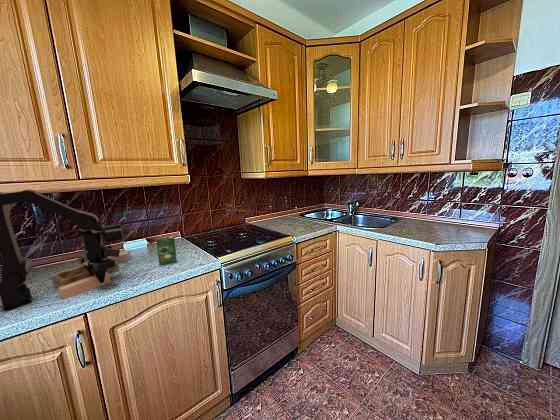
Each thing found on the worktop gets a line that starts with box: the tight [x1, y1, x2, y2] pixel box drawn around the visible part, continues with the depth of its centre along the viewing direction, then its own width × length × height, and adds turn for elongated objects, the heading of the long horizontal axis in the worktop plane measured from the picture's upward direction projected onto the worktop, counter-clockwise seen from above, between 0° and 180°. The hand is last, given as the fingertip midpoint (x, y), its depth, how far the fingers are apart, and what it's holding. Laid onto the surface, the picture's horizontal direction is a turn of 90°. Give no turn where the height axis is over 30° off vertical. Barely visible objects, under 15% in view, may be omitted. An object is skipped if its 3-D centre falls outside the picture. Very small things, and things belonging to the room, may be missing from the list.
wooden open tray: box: [50, 259, 120, 289], centre depth 102 cm, size 20×11×4 cm, turn 149°
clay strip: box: [57, 272, 111, 300], centre depth 91 cm, size 15×4×4 cm, turn 149°
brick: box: [103, 249, 132, 264], centre depth 119 cm, size 17×8×5 cm, turn 118°
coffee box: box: [155, 235, 178, 266], centre depth 113 cm, size 8×3×13 cm, turn 108°
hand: (99, 281), depth 95 cm, fingers closed on clay strip, 3 cm apart
